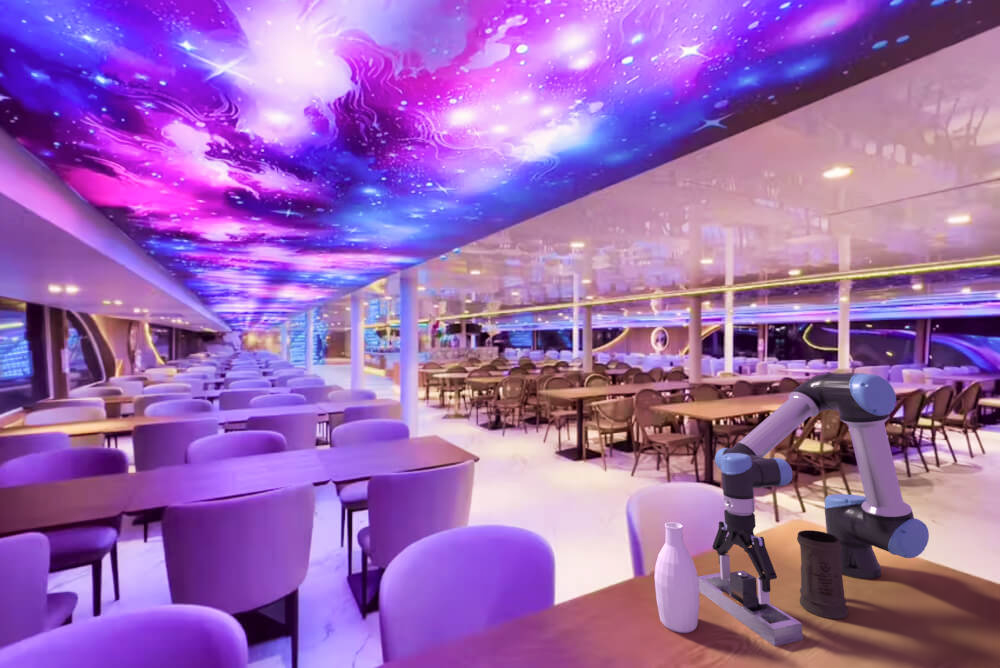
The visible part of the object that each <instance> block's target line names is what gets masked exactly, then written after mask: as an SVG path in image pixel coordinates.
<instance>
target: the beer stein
mask: <svg viewBox="0 0 1000 668" xmlns="http://www.w3.org/2000/svg"><path fill="white" fill-rule="evenodd" d="M796 538H797V543H798V544H799V548H800V562H801V564H800V583H801V584H800V589H799V592H800V596H799V604H800V606H801V607H802V608H803V609H804V610H805V611H807V612H809V613H811V614H813V615H815V616H818V617H821V618H823V619H824V618H825V619H832V620H837V619H839V620H840V619H844V618H846V617H848V615H849V612H848V608H847V606H846V605H847V599H846V597H845V589H844V580H843V574H842V567H841V560H840V552H841V544H840V540H839V538H837V537H836V536H834V535H831V534H829V533H827V532H824V531H819V530H811V529H810V530H807V529H806V530H800V531H798V533H797V537H796Z"/></svg>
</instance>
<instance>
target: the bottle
mask: <svg viewBox="0 0 1000 668" xmlns="http://www.w3.org/2000/svg"><path fill="white" fill-rule="evenodd" d="M664 527H665V543H664V544H663V546H662V548H661V550H660V551H659V553H658V555H657V559H656V561H655V566H654V567H655V568H654V586H655V597H656V604H657V610H658V614H659V620H660V622H661V623H662V625H663V626H664V627H665V628H667V629H668V630H670V631H672V632H676V633H679V634H686V633H687V634H688V633H692V632H694V631H695V630H696V629H697V626H698V622H699V613H700V612H699V611H700V610H699V609H700V592H699V581H698V576H699V575H698V573H697V572H698V571H697V568H696V565H695V562H694V560H693V557H692V556H691V554H690V552H689V551H688V549H687V546H686V545H685V543H684V541H685V540H684V534H683V529H684V526H683V525H682V524H681V523H679V522H674V521H671V522H670V521H668V522H666V523H665V524H664Z"/></svg>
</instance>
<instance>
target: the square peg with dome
mask: <svg viewBox="0 0 1000 668" xmlns="http://www.w3.org/2000/svg"><path fill="white" fill-rule="evenodd" d="M730 587H731V597H733V598H734V599H736V600H737V601H739V602H740V603H742V604H743V606H744V607H746V608H747V609H749V610H750V611H752V612H754V611H758V603H757V596H758V585H757V577H756V576H753V575H752V574H750V573H748V572H746V570H738V571H732V572H731V571H730Z"/></svg>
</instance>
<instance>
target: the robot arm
mask: <svg viewBox="0 0 1000 668" xmlns="http://www.w3.org/2000/svg"><path fill="white" fill-rule="evenodd" d="M787 397H788V399H787V400H785V402H784V403H782V404H781V405H780V406H779V407H778V408H776V410H774V411H773V412H772V413H771V414H770V415H768V417H766V418H765V419H764V420H763V421H762V422H760V423H759V424H758V425H757V426H756V427H755V428H754V429H752V430H751V431H749V432H748V434H746V436H744V437H743V438H742V439H740V440H739V441H738V442H737V443H736V444H734V445H733V447H731V448H730V447H723V448H720V449H719V450H717V451H716V454H715V456H714V462H715V465H716V467H717V468H718V469H719V470H720V471H721V482H722V494H723V508H724V509H725V510H724V514H723V516H724V520H722V521H719V522H718V529H717V532H716V535H715V538H714V542H712V543H713V544H712V545H711V546H712V549H713V550H714V551H716V553H717V554H718V564H719V569H720V570H719V571H720V572H719V573H721V579H722V580H725V579H730V573H731V562H730V554H729V551H730V550H731V549H732V547H733V546H734V545H736V546H739V547H740V548H741V549H742V550H743V552H745V553H747V556H748V557H749V559H750V560H751V561H750V562H752V564H753V567H754V568H755V570H756V572H757V574H758V576H757V577H756V581H757V596H759V603H760V604H766V603H770V604H771V602H770V592H771V589H772V588H771V580H776V579H777V578H778V577H777V576H778V575H777V573H776V570H775V569H774V565H773V563H772V560H771V558H770V556H769V552H768V550H767V548H766V542H765V538H764V537H763V536H755V534H754V533H755V532H754V529H755V527H756V515H755V511H756V509H755V497H754V492H755V491H754V489H759V488H771V487H773V488H774V487H778V488H779V487H782V486H785V485H789V484H790V482H792V479H793V470H792V467H791V466H790V463H788V462H787V460H785V459H784V458H780V457H769V458H766V455H767V454H768V453H770V452H771V451H772V450H773V449H774V448H775V447H777V445H779V444H780V443H781V442H782V441H783V440H785V438H788V436H789V435H790V434H791V433H793V431H795V430H796V429H797V428H798V427H799V426H800V425H801V424H802V423H804V422H805V421H807V419H808V418H809V417H813V418H814V417H816V416H818V415H819V414H820V413H821V412H823V411H831V410H832V411H838V413H839V414H838V415H839V419H840V421H841V422H843V423H844V424H846V425H847V428H848V430H849V434H850V439H851V442H852V447H853V452H854V454H855V460H856V464H857V468H858V472H859V476H860V480H861V481H860V482H861V484H862V485H861V486H862V488H863V493H864V496H863V495H859V494H858V495H857V494H848V493H847V494H845V493H843V494H842V493H841V494H840V493H835V494H830V495H827V496H826V497H825V499H824V515H825V518H824V519H825V528H826V533H829V534H831V535H834V536H836V537H837V538H839V540H840V544H841V552H840V560H841V567H842V576H843V575H844V576H848V577H851V578H855V579H856V578H857V579H870V580H871V579H877V578H879V577H881V576H882V567H881V564H880V563H879V561H878V559H877V556H876V554H875V551H874V549H873V547H875V548H878V549H880V550H883V551H886V552H888V553H889V554H892V555H893V556H898V557H901V558H905V559H914V558H917V557H919V556H920V555H921V554H922V553H924V551H925V549H926V547H927V546H928V543H929V539H930V537H929V536H930V533H929V529H928V526H927V525H926V523H924V522H923V521H922V520H921V519H918V518H915V516H914V513H913V508H912V506H911V505H910V504H908V503H906V502H905V501H904V499H903V496H902V491H901V487H900V483H899V480H898V474H897V470H896V467H895V462H894V458H893V454H892V450H891V445H890V441H889V437H888V433H887V429H886V424H885V423H886V422H887V421H888V420H889V419H890V414H891V413H892V412H893V411H894V410H895V408H896V406H895V404H896V403H897V396H896V392H895V389H894V388H893V386H892V385H891V384H890V382H889V381H888V380H887V379H885V378H883V377H882V376H879V375H878V374H877V375H876V374H868V373H863V372H860V373H851V372H850V373H849V372H848V373H845V372H844V373H840V372H839V373H837V372H836V373H835V372H826V373H822V374H818V375H815V376H813V377H812V378H809V379H808V380H806V381H805V382H803V383H801V384H800V385H799V386H797V387H796V388H794V389H793V390H792V391H791V392H790V393H789V394H788V395H787Z"/></svg>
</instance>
